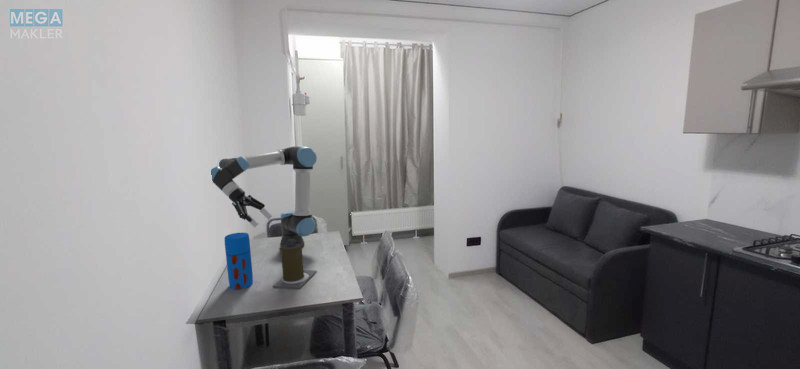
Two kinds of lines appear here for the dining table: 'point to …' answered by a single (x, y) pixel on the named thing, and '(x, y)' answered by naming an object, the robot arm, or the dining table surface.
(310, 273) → the circle mat
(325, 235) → the dining table surface
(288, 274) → the canister
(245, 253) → the thermos
